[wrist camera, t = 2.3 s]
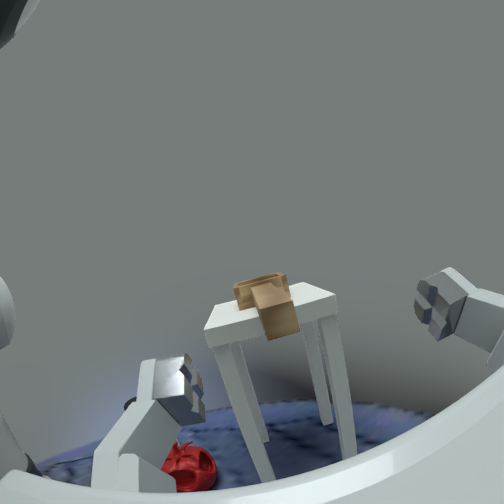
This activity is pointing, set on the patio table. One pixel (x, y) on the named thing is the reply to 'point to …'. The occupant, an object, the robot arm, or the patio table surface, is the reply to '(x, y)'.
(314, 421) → the patio table surface
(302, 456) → the patio table surface
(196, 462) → the pomegranate
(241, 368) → the tall stand
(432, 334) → the robot arm
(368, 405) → the patio table surface
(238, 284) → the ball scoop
